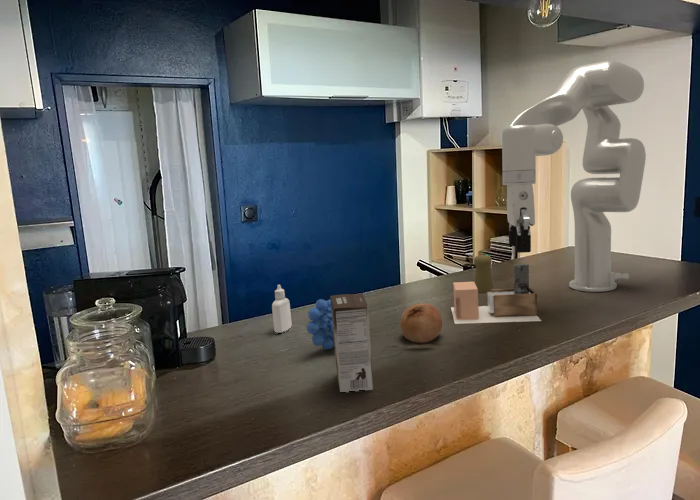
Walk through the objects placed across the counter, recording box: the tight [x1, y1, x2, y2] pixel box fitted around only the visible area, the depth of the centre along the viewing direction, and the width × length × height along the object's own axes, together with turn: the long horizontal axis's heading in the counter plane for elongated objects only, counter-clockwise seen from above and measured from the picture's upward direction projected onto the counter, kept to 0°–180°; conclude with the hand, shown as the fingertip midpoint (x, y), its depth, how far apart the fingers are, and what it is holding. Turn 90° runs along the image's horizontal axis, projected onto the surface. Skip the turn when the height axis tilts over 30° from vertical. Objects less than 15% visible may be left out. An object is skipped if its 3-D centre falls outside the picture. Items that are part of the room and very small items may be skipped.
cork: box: [473, 254, 495, 295], centre depth 155 cm, size 6×6×11 cm
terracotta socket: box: [452, 281, 479, 320], centre depth 131 cm, size 5×8×8 cm, turn 173°
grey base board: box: [450, 305, 542, 325], centre depth 130 cm, size 20×14×1 cm
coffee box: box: [329, 293, 374, 393], centre depth 97 cm, size 9×6×16 cm
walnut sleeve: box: [491, 287, 538, 317], centre depth 129 cm, size 10×6×6 cm, turn 83°
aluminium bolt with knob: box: [486, 263, 531, 313], centre depth 129 cm, size 10×4×11 cm, turn 83°
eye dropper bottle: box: [271, 284, 293, 333], centre depth 132 cm, size 4×6×12 cm
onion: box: [399, 302, 443, 344], centre depth 117 cm, size 10×9×10 cm
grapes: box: [306, 298, 334, 350], centre depth 115 cm, size 12×7×12 cm, turn 138°
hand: (519, 249), depth 126 cm, fingers open, 9 cm apart
